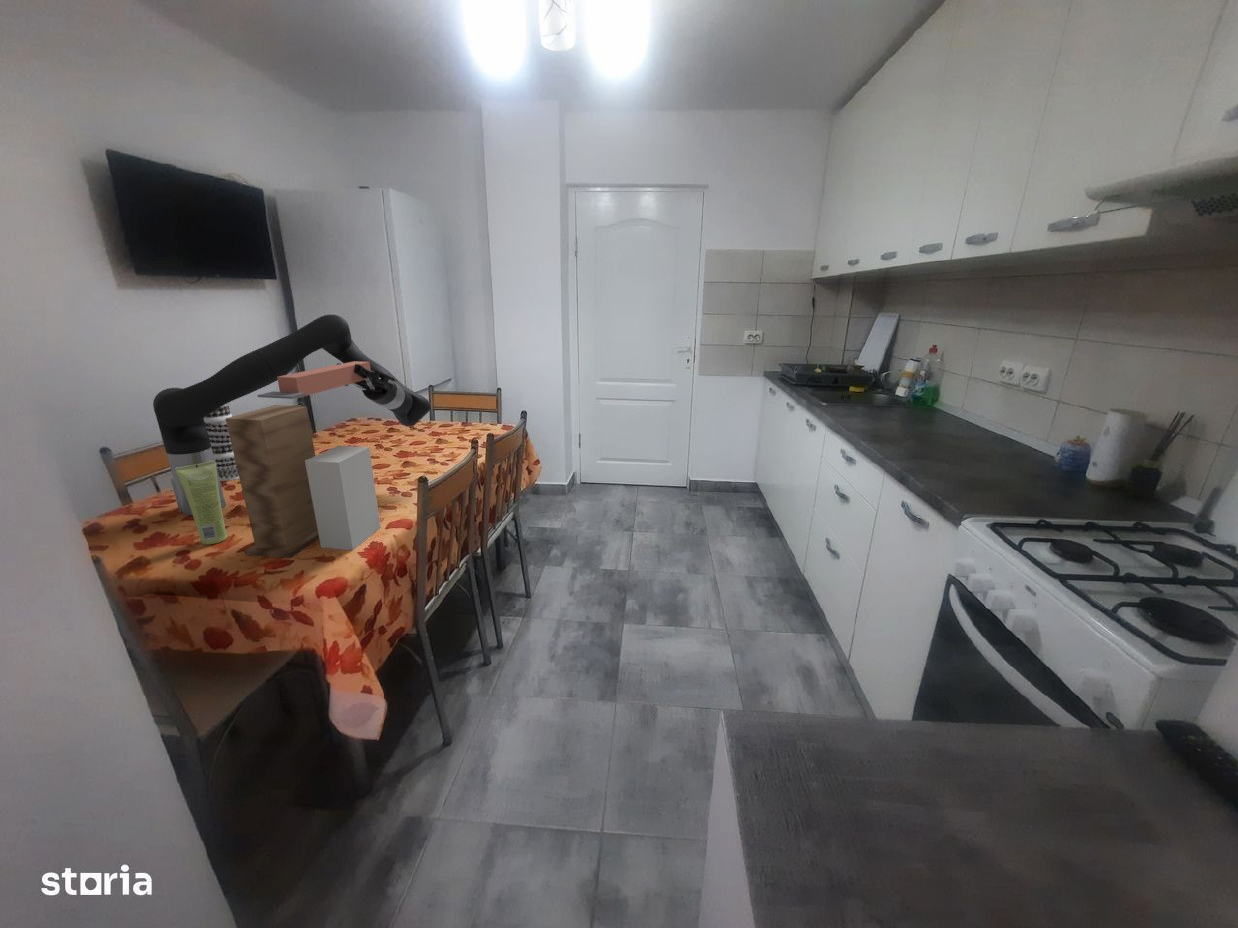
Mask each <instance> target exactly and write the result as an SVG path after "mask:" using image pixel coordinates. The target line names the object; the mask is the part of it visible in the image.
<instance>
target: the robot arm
mask: <svg viewBox="0 0 1238 928" xmlns="http://www.w3.org/2000/svg"><path fill="white" fill-rule="evenodd" d="M351 334H352V333H351V330H350V326H349V323H348V321H347V320H346V319H345V318H343V317H342V316H341V315H337V314H324V315H322V316H319V317H317V318H315V319H314V320H312V321H310V322H309V323H307V324H306V325H304V326H302V327H301V328H298V330H296V331H294V332H292V333H290V334H288V335H286V336H284V337H283V336H282V337H281V338H279V339H277V340H275V341H273V342H271V343H269V344H266V345H264V346H262V347H259V348H257V349H255V350H252V351H250V352H247V353H246V354H244V355H242V356H240V357H238V358H237V359H235V360H233V361H231V362H229V364H227V365H225V366H224V367H223V368H221V369H220V370H219V371H217V372H215V373H214V374H213V375H212V376H209V377H208V378H206V379H204V380H202V381H200V382H197V383H194V384H192V385H190V386H187V387H185V388H180V387H170V388H166V389H162V390H161V391H159V392H158V393H157V394H156V395H155V396H154V398H153V403H152V407H153V411H154V414H155V418H156V422H157V423H158V424H157V425H158V429H159V431H160V436H161V440H162V443H163V447H164V450H165V453H166V457H167V461H168V463H169V467H170V470H171V474H172V478H171V479H170V483H171V486H172V489H173V493H174V498H175V500H176V504H177V507H178V510H179V513H183V514H184V515H187V516H193V514H192V511H191V508H190V505H189V502H188V499H187V497H186V494H185V492H184V489H183V486H182V484H181V482H180V479H179V477H178V475H177V473H176V472H175V468H179V467H185V466H190V465H196V464H201V463H207V462H212V461H215V459H214V455H213V451H212V447H211V443H210V439H209V435H208V432H207V429H206V425H205V421H204V417H205V416H207V415H209V414H210V413H212V412H213V411H215V410H217V409H218V408H220V407H221V406H223V405H225V404H227V403H229V404H230V403H231V402H232V401H236V400H237V399H240V398H243V397H244V396H247V395H250V394H251V393H252V394H253V393H254V392H256V391H259V390H261V389H262V388H266V387H267V386H269V385H272V384H273V383H275V382H278V379H277V377H279V376H284V375H289V374H290V373H291V372H292V371H293V370H294V369H295V368H296V367H297V366H298V365H299V364H300V363H301V362H302V361H303V360H304V359H305V358H306V357H307V356H309V355H311V354H312V353H315V352H317V351H318V350H324V351H325V352H326V353H328V354H330V355H331V356H332V357H334V358H335V359H337V361H340V362H339V363H336V364H335V365H339V364H344V363H348V362H353V361H358V362H370V369H371V370H369V369H365V368H364V367H362V366H361V365H359V364H355V368H354V372H355V373H356V374H357V375H359V376H361V377H362V378H365V380H363V381H359V382H355V383H352V384H351V385H353V386H355V387H357V388H358V389H361V392H362V393H363V395H364V396H365V397H366V398H367V399H368V400H370V401H372V402H373V403H375V404H377V405H378V406H381V407H382V408H385V409H387V410H389V411H390V412H392V413H393V415H394V416H395V418H396V419H397V421H398V422H399V423H400V425H403V426H405V427H409V428H410V427H414V426H415V425H417V424H418V422H420V421H421V420H422V419H423V418H424V417H425V416H426V415H427V414H428V413H429V412H430V411H431V406H432V405H431V403H430V401H429V400H428V398H426V397H425V396H423V395H421V394H419V393H417V392H415V391H414V390H411V389H410V388H409V387H407V386H405V384H403V383H401V381H400V380H399V379H397V377H395V376H394V375H393V374H392V373H391V372H390V371H389V370H388V369H387V368H385V367H384V366H383V365H381V364H380V363H377V362H376V361H375V360H373V359H371V358H369V357H368V356H367V355H366V354H365V353H364V352H363V351H362V350H361V349H360V348H359V347H358V345H357V344H356V343H355V342H354V340H353V339H352V335H351ZM349 385H350V384H348V385H344V386H345V387H348V386H349ZM216 471H217V467H216ZM217 481H218V489H219V496H220V502H221V508H222V509H223V508H225V507H226V499H225V496H224V491H223V488H222V483H221V481H220V479H219V475H218V471H217Z"/></svg>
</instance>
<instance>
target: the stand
mask: <svg viewBox="0 0 1238 928" xmlns="http://www.w3.org/2000/svg"><path fill="white" fill-rule="evenodd" d="M232 416H233V415H232ZM225 419H226V423H227V427H228V432H229V436H230V440H231V444H232V449H233V453H234V457H235V461H236V466H237V470H238V474H239V483H240V486H241V491H242V494H243V498H244V504H245V509H246V512H247V515H248V520H249V525H250V530H251V533H252V537H253V541H254V542H253V543H254V544H253V545H250V546H249V547H247V548H246V549H244V553H245V554H244V555H246V556H254V557H255V556H258V557H269V558H270V557H271V558H284V559H285V558H286V559H292V558H293V557H295V556H296V555H298V554H299V553H300V552H302V551H303V550H304V549H306V548H307V547H309V546H310V545H312V544H313V543H315V542H316V541H318V540H320V539H319V534H318V528H317V523H316V518H315V512H314V507H313V502H312V496H311V491H310V486H309V480H308V475H307V470H306V464H305V460H307V459H310V458H312V457H314V456H316V451H315V447H314V446H315V445H314V440H313V435H312V429H311V428H312V427H311V423H310V418H309V412H308V407H307V406H304V405H303V406H299V405H297V406H296V405H282V404H281V405H279V404H278V405H277V404H275V405H270V406H267V407H263V408H259V409H256V410H253V411H252V410H251V411H249V412H243V413H241V414H237V415H234V416H233V417H229V418H225Z"/></svg>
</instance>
